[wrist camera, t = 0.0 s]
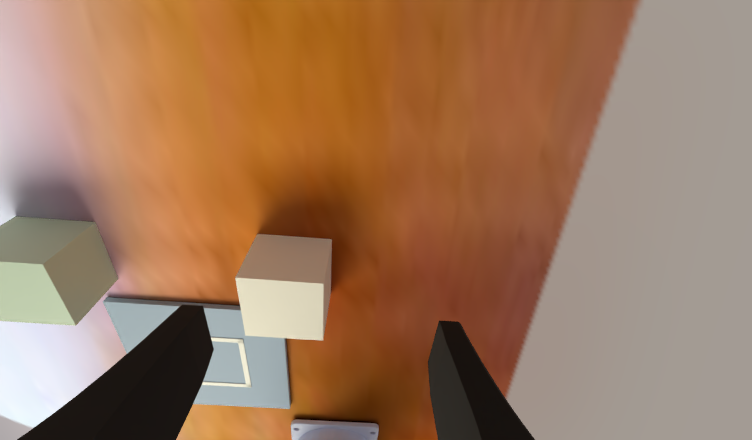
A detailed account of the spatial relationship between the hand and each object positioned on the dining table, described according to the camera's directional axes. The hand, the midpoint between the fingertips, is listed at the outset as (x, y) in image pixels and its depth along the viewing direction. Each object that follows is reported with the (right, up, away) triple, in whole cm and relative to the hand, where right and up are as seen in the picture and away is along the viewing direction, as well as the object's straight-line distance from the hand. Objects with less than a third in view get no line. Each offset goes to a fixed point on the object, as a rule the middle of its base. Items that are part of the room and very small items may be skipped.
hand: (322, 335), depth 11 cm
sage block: (-17, +2, +11) cm, 21 cm away
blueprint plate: (-11, -7, +17) cm, 21 cm away
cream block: (-3, +1, +12) cm, 12 cm away
